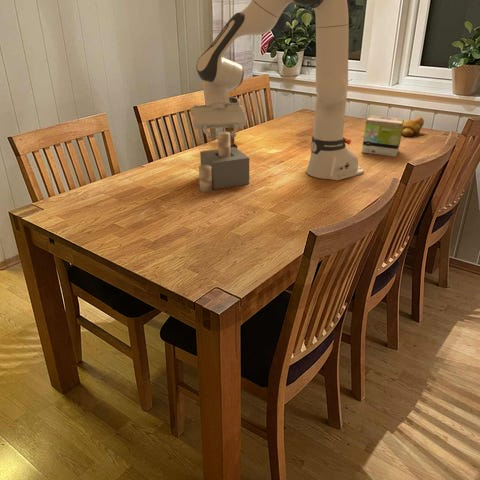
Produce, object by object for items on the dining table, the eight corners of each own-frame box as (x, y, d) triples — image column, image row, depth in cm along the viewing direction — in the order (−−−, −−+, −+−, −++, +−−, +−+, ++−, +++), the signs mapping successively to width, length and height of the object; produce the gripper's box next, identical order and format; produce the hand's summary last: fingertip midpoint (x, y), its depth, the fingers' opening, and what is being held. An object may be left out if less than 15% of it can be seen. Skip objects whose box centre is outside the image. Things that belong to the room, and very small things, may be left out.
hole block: (234, 171, 185) (234, 147, 181) (249, 183, 174) (249, 157, 169) (201, 176, 181) (200, 151, 176) (213, 189, 169) (213, 162, 165)
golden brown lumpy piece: (412, 138, 225) (415, 122, 222) (393, 135, 231) (395, 118, 227) (423, 133, 234) (426, 117, 230) (405, 129, 240) (407, 114, 236)
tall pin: (228, 177, 180) (227, 131, 171) (232, 181, 176) (231, 134, 168) (217, 178, 178) (216, 132, 170) (221, 182, 175) (220, 135, 166)
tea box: (361, 153, 206) (365, 119, 199) (364, 146, 214) (369, 114, 207) (396, 157, 201) (402, 123, 194) (399, 150, 209) (404, 117, 202)
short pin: (209, 187, 171) (208, 164, 167) (213, 191, 167) (213, 167, 163) (198, 189, 169) (197, 165, 165) (202, 193, 166) (201, 169, 162)
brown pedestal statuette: (235, 154, 205) (235, 112, 196) (221, 153, 206) (220, 111, 198) (238, 149, 211) (238, 109, 202) (224, 148, 212) (223, 108, 203)
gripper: (190, 101, 174) (194, 134, 170) (244, 98, 177) (249, 131, 174) (189, 110, 180) (193, 142, 176) (241, 108, 183) (246, 139, 180)
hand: (221, 137), depth 175 cm, fingers open, 8 cm apart
